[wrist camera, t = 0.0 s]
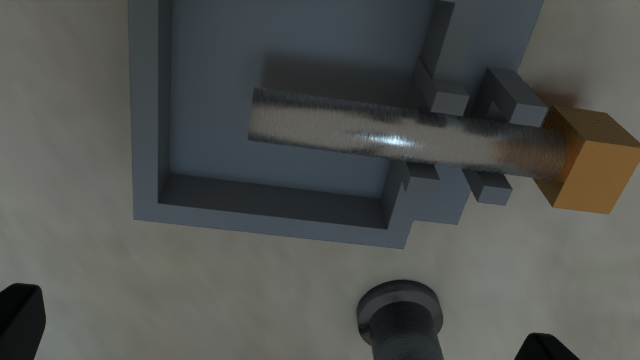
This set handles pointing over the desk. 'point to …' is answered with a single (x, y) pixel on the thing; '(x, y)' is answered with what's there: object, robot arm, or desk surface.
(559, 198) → the pin
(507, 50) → the tray
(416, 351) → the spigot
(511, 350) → the desk surface
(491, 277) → the desk surface
